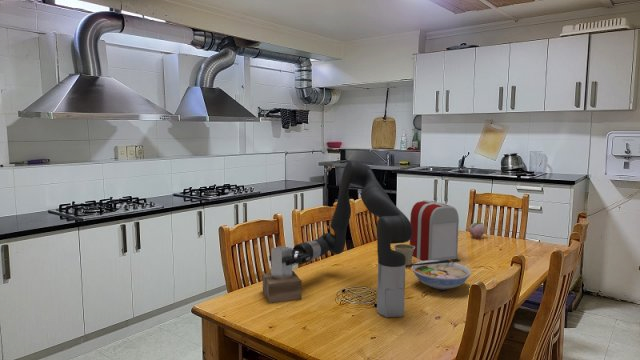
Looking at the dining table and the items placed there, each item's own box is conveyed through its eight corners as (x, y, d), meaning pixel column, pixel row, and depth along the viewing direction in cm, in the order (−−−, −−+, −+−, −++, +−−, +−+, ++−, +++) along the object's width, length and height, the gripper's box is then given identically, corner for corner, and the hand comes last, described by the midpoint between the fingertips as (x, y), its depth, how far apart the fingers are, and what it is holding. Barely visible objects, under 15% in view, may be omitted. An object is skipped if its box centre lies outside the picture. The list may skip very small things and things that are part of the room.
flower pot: (414, 268, 197) (415, 250, 196) (393, 267, 199) (393, 248, 198) (414, 262, 207) (414, 244, 206) (394, 261, 208) (394, 243, 208)
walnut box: (301, 299, 161) (301, 280, 161) (269, 303, 158) (269, 284, 157) (293, 288, 173) (293, 270, 172) (262, 291, 169) (262, 273, 168)
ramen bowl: (426, 300, 161) (426, 278, 160) (398, 279, 183) (399, 260, 182) (485, 294, 168) (486, 273, 167) (452, 274, 189) (452, 256, 189)
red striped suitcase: (435, 251, 227) (437, 199, 223) (458, 260, 210) (460, 204, 207) (408, 254, 221) (409, 200, 217) (428, 264, 204) (430, 206, 201)
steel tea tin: (292, 276, 165) (292, 248, 164) (281, 280, 161) (281, 251, 159) (281, 273, 168) (281, 245, 167) (271, 277, 164) (271, 248, 163)
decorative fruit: (474, 235, 260) (474, 219, 259) (487, 238, 253) (487, 221, 252) (465, 238, 254) (465, 221, 253) (478, 240, 247) (479, 223, 246)
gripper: (293, 239, 179) (264, 247, 166) (320, 245, 170) (291, 254, 157) (293, 257, 179) (264, 266, 167) (320, 264, 170) (291, 274, 158)
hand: (277, 260), depth 162 cm, fingers open, 8 cm apart
